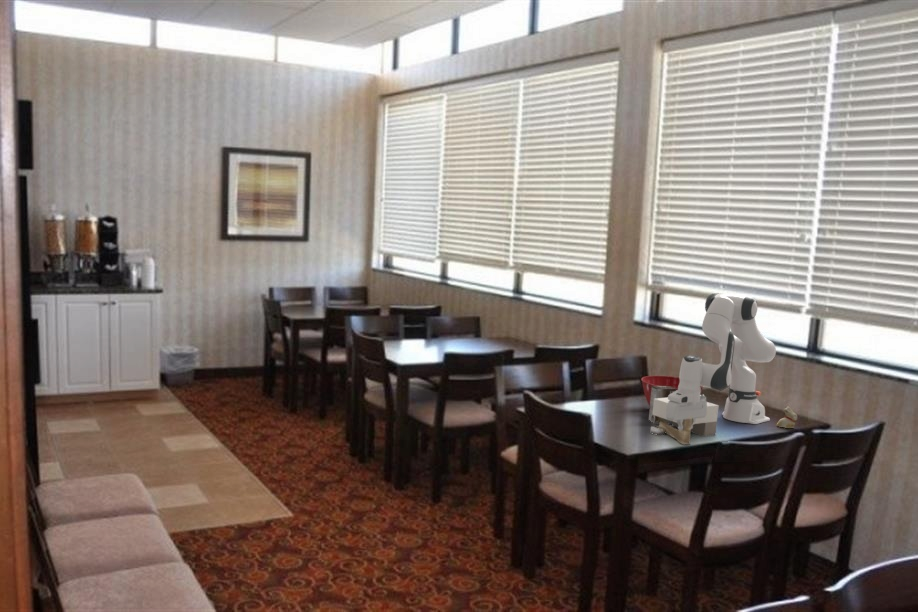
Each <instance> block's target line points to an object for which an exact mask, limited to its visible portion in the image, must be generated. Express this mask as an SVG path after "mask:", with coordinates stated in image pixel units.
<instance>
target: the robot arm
mask: <svg viewBox="0 0 918 612" xmlns="http://www.w3.org/2000/svg"><path fill="white" fill-rule="evenodd" d="M704 303H705V304H704V311H705V312H706V313H705V315H704V317H703V320H702V324H701V325H702V326H701V328H702V332H703V334H704V335H705V336H706V337H707V338H708V339H709V340H710V341H712V342H714V343H715V344H717V345H718V350H719V353H720V354H721V356H720V361H719V363H718V364H713V363H709V362H708V363H707V362H703V358H702V357H701V356H698V355H696V354H695V355H694V354H688V355H685V356H684V357H682V360H681V364H680V368H679V376H678V377H679V379H680V383H679V386H678V390H676V391H675V392H673V393H671V394H669V395H668V400H670V401H669V402H668V404H667V409H666V417H667V419H669V420H672V421H676V420H677V424H678V427H677V430H684V426H683V425H682V422H683V420H685V419H690V416H691V415H692V421H691V429H692V428H693V424H694V423H695V421H696V418H702V417H705V416H706V415H707V402H708V401H707V396H705V394H700V392H701V393H702V391H701V387H700V386H703V387H704V388H709V389H713V390H716V391H720V392H721V391H724V390H726V389H727V388H728V387H729V388H728V390H727V393H728V394H727V396H728V397H727V398H726V400H725V405H724V411H723V412H722V413H721V415H722V417H723V418H724V419H726V420H727V421H732V422H737V423H743V424H745V423H746V424H753V425H758V424H760V423H765V422H769V421H771V419H770V417H768V416H766V408H765V406H764V405H763V404H762V403H761V401H759V399H758V397H757V396H760V397H761V393H762V392H761V391H758V390H756V382H757V374H756V372H755V371H754V370H753V369H751V367H749V366H748V364H747V362H746V361H748V362H753V363H770V362H772V361H773V359H774V358H775V356H776V354H777V348H776V346H775V343H774V342H773V341H771V340H769V339H768V338H767V337H765V335H763V334H762V333H761V331H760V330H759V328H758V326H757V322H756V316H757V312H758V302H757V300H756V299H755V298H754V297H752V296H749V295H746V294H741V293H737V294H734V293H719V292H716V293H710V294H709V295H708V296H707V297H706V299H705V302H704Z"/></svg>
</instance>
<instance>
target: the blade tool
mask: <svg viewBox="0 0 918 612" xmlns="http://www.w3.org/2000/svg"><path fill="white" fill-rule="evenodd" d="M691 421H692V415H691V416H690V419H685V420H683V422H682V425H683V426H684V430H678V428H676V427H675V426H672V425H671V424H667V423H665V422H663V421H660V424H658V426H660V427H664V428H665V434H667V435H668V436H670V437H672V438H674V439H676V440H677V442H678V443H680V444H682V445H690V442H691V433H692V432H691Z"/></svg>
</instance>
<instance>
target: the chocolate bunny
mask: <svg viewBox="0 0 918 612" xmlns="http://www.w3.org/2000/svg"><path fill="white" fill-rule="evenodd" d="M783 412H784V413H785V416H784V417H783V418H780V419H779V420H778V422H777V423H776V424H775V426H776V427H777V426H779V427H778V428H780V427H785V428H794V429H795V425H796V424H797V422H796V421H797V420H798V414H797V413H795V412H794V411H793V410H792V408H791V407H790V406H787V407H786V408H783ZM785 428H784V429H785Z"/></svg>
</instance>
